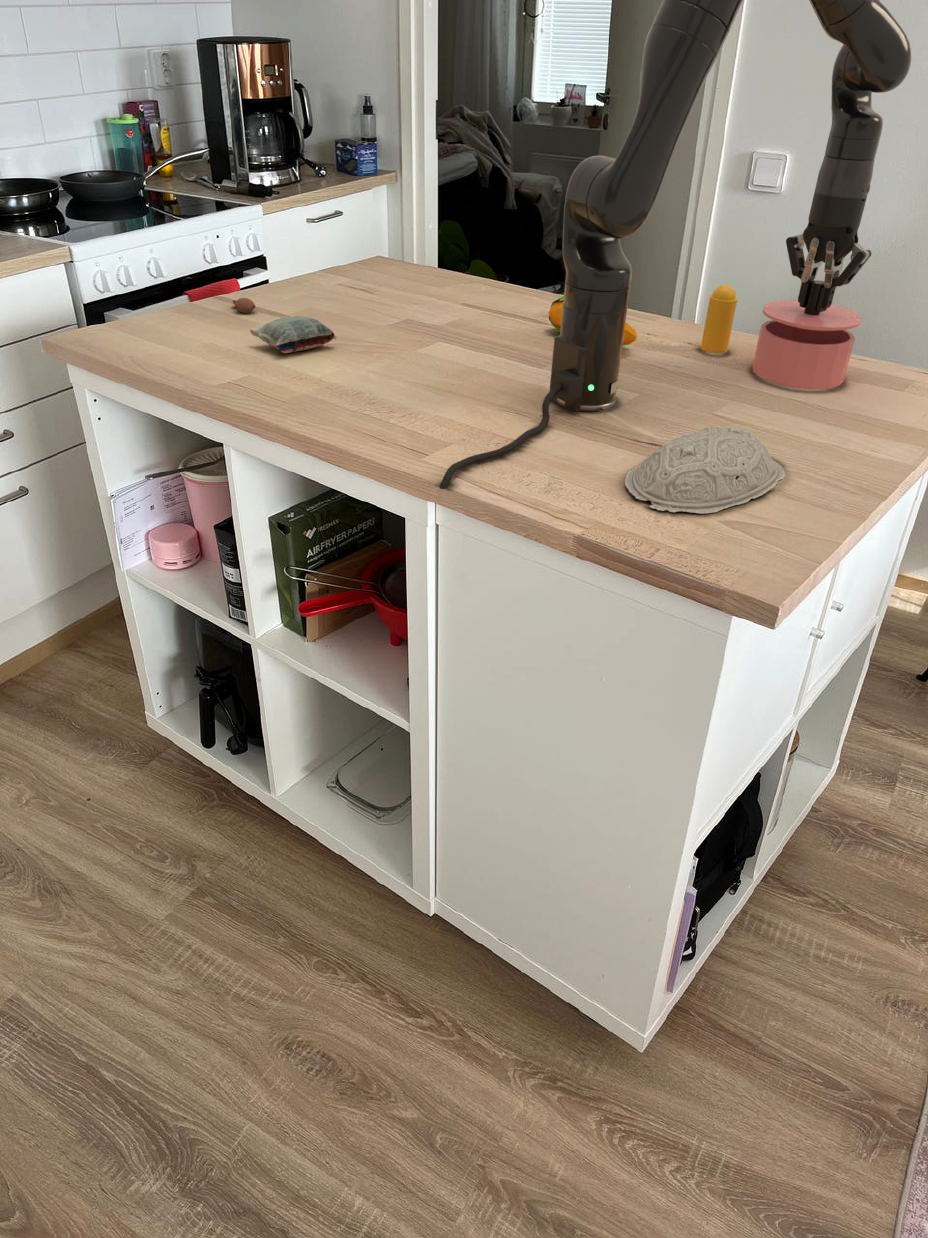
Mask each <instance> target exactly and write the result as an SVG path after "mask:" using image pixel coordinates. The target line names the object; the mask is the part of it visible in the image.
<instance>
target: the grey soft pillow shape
mask: <svg viewBox="0 0 928 1238" xmlns="http://www.w3.org/2000/svg"><path fill="white" fill-rule="evenodd" d="M249 332H250V334H251V335H252V336H254V337H257V338H259V340H260V341H262V342H264V343H266V344H268V345H269V346H271V347H273V348H275V349H276V350H278V351H280V352H281V353H282V354H288V353H290V354H291V353H294V352H295V353H297V352H300V351H305V350H310V349H315V348H318V347H320V346H323V345H326V344H328V343H330V342H331V341H333V339H334V340H337V335H335V332H333V330H332V329H330V328H329V327H328V326H326V325H325V324H323V323H322V322H321V321H319V320H318V319H317V318H316V319H315V318H314V317H311V316H303V315H294V316H288V317H281V318H278V319H275V320H272V321H269V322H266V323H265V324H263V325H261V326H260V327H259V328H258V329H255V330H253V329H250V330H249Z"/></svg>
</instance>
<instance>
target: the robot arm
mask: <svg viewBox="0 0 928 1238" xmlns="http://www.w3.org/2000/svg"><path fill="white" fill-rule="evenodd" d="M808 1H809V3H810V5H811V7H812V9H813V11H814V13H815V16H816V17H817V19H818V21H819V24H820V25H821V27H822V29H823V31H824V32H825V34H826V35H827V37H829V38H830V39H832V40H834V41H836V42H838V43H840V44H842V45H841V47H840V49H839V50H838V53H837V55H836V57H835V60H834V63H833V68H832V75H831V103H830V104H831V107H830V108H831V109H830V111H831V127H830V130H829V135H828V138H827V143H826V147H825V151H824V152H825V153H824V156H823V159H822V163H821V165H820V168H819V171H818V174H817V179H816V183H815V187H814V193H813V196H812V200H811V206H810V210H809V213H808V223H807V226H806V227H805V229H804V230H803V232H802V233H801V234H799V235H793V236H789V237H787V238H786V240H785V244H786V249H787V254H788V261H789V265H790V270H791V275H792V276H793V277H797V278H798V279H800V281H801V283H800V288H799V293H798V297H797V300H798V302H799V303H800V305H799V306H800V307H803V308H805V306H806V302H807V298H808V293H809V289H810V285H811V281H814V280H816V278H817V275H818V273H819V270H820V268H821V266H822V265H823V263H824V269H823V270H824V280H823V281H824V287H822V289H821V293H820V297H819V301H818V305H817V311H819V312H823V311H826V310H827V308H830V306H831V305H833V300H834V297H835V292H836V288H837V287H842V286H845V285H846V286H847V285H848V284H850V283H851V281H852V280H853V279H854V278H855V277H856V275H857V274H858V273H859V271H860V270H861V269H862V268H863V267H864V266H865V264H866V263H867V262H868V260H869V259H870V257H872V251H871V250H870V249H865V248H864V247H863V246H861V244H859V235H858V230H859V228H860V225H861V222H862V218H863V215H864V210H865V207H866V202H867V199H868V195H869V193H870V189H871V182H872V179H873V173H874V165H875V159H876V157H877V153H878V148H879V144H880V141H881V136H882V132H883V127H884V119H883V117H882V116H881V114H879V113H878V112H876V110H874V109H873V106H872V94H873V93H875V94H883V93H888V92H891V91H894V90H895V89H897V88H898V87H899V86H901V84H902V83H903V82H904V81H905V79H906V78H907V76H908V74H909V73H910V68H911V63H912V48H911V44H910V41H909V38H908V36H907V34H906V33H905V31H904V29H903V28H902V26H901V25H900V23H899V22H898V21H897V20H896V18H895V16H893V14H891V12H890V11H889V9H888V8H887V7H886V6H885V5H884V4H883V3H882V2H881V0H808ZM743 2H744V0H662V1H661V3H660V6H659V7H658V11H657V13H656V14H655V17H654V19H653V21H652V24H651V26H650V28H649V30H648V33H647V35H646V39H645V41H644V45H643V49H642V55H641V65H640V79H639V81H640V82H639V93H638V103H637V107H636V111H635V115H634V119H633V121H632V124H631V127H630V129H629V131H628V133H627V135H626V138H625V140H624V142H623V145H622V147H621V149H620V150H619V153H618V154H617V156H616V158H615V157H611V156H607V155H593V156H589V157H587V158H585V159H583V160H581V162H580V163H579V164H578V165H577V166H576V167H575V168H574V170H573V172H572V174H571V176H570V178H569V181H568V183H567V187H566V192H565V200H564V206H563V208H564V209H563V225H562V227H563V228H562V229H563V230H562V251H561V252H562V253H561V254H562V261H563V265H564V268H565V277H564V278H565V279H564V280H565V281H564V291H563V296H564V300H563V310H562V320H561V331H560V332H559V335H556V336H555V337H554V339H553V349H552V358H551V370H550V371H551V373H550V382H549V392H548V393H547V394H546V395H545V396H544V399H543V401H542V404H541V412H542V413H541V414H542V417H541V418H542V419H541V420H540V423H539V424H538V425H537V426H535V427H532V428H529V429H528V430H526V431H525V432H523V433H521V435H520V436H518V437H517V438H516V439H515V440H513V441H512V442H510V443H508V444H507V445H504V446H502V447H500V448H498V449H494V450H491V451H487V452H486V451H485V452H482V453H478V454H474V455H471V456H468V457H465V458H463V459H461V460H459V461H457V462H455V463H452V464H451V465H450V466H449V467H448V468H447V469H446V471H445V473H444V475H443V476H442V480H441V482H440V484H439V490H440V489H441V490H446V489H448V488H449V486H450V484H451V481H452V479H453V477H454V475H455V474H456V472H458V471H460V470H462V469H465V468H467V467H469V466H472V465H474V464H477V463H481V462H485V461H489V460H493V459H496V458H499V457H502V456H505V455H507V454H509V453H511V452H513V451H515V450H516V449H517V448H519V447H520V446H522V444H524V443H525V442H526V441H528V440H529V439H530V438H532V437H534V436H537V435H539V434H541V433H542V432H544V430H545V429H546V428H547V427H548V424H549V421H550V404H551V402H554V403H556V404H559V406H562V407H564V408H565V409H568V410H570V411H572V412H578V411H584V412H585V411H586V412H594V411H595V412H598V411H604V410H605V408H608V407H611V406H613V405H614V404H616V401H617V392H618V391H619V385H620V379H619V376H620V375H619V374H620V368H621V359H622V352H623V346H624V345H623V338H624V330H625V323H627V322H626V321H627V316H628V315H627V314H628V307H629V299H630V292H631V285H632V276H633V267H632V264H631V262H630V261H629V260H628V258H627V256H626V255H625V253H624V250H623V247H622V245H621V239H625V238H628V237H630V236H632V235H634V234H635V233H636V232H637V231H638V230H640V228H641V227H642V226H643V225H644V224H645V223H646V221H647V219H649V216H650V214H651V212H652V210H653V208H654V205H655V203H656V201H657V199H658V196H659V193H660V190H661V189H662V186H663V182H664V180H665V177H666V175H667V172H668V169H669V166H670V163H671V162H672V161H671V160H672V157H673V155H674V152H675V150H676V147H677V145H678V142H679V140H680V138H681V135H682V133H683V131H684V128H685V127H686V124H687V122H688V119H689V117H690V116H691V114H692V111H693V109H694V106H695V104H696V102H697V99H698V97H699V95H700V93H701V92H702V91H701V90H702V88H703V86H704V84H705V82H706V81H707V78H708V76H709V74H710V73H711V71H712V69H713V68H714V64H715V63H716V61H717V59H718V57H719V54H720V52H721V50H722V48H723V46H724V44H725V42H726V40H727V38H728V36H729V34H730V31H731V29H732V27H733V25H734V22H735V20H736V17H737V15H738V12H739V10H740V8H741V6H742V4H743ZM804 247H806V250H807V256H806V258H805V253H804ZM850 253H851V255H850V257H849V258H850V261H849V263H848V264H847V266H846V267H845V268H844V270H842V269H843V267H844V260H845V257H847V256H848V255H849V254H850ZM841 271H842V272H841Z"/></svg>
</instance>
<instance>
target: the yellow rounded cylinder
mask: <svg viewBox="0 0 928 1238" xmlns="http://www.w3.org/2000/svg"><path fill="white" fill-rule="evenodd" d="M737 304H738V298H737V294H736V290H735V289H734V288H733V287H732V286H730V285H727V284H722V285H720V286H717V287H716V288H715V289H714V290H713V291H712V294H711V295H709V299H708V305H707V311H706V316H705V322H704V327H703V334H702V339H701V344H700V349H701V350H702V351H704V352H707V353H710V354H711V353H712V354H724V353H727V352H728V348H729V344H730V339H731V333H732V330H733V323H734V319H735V313H736V309H737Z"/></svg>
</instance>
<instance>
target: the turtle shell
mask: <svg viewBox="0 0 928 1238" xmlns="http://www.w3.org/2000/svg"><path fill="white" fill-rule="evenodd" d="M737 477H738V478H737ZM785 477H786V471H785V469H784V468H783V467H782V465H781V464H780V463H778V462H777V461H775V460H774V459H773V458H772V457H771V455H770V453H769V451H768V449H767V447H766V446H765V445H764V444H763V443H762V441H761V440H760V439H759V438H758V436H757V435H755V434H753V433H751V432H750V431H746V430H744V429H740V428H739V427H738V426H729V427H728V426H718V425H712V426H710V427H704V428H701V429H699V430H697V431H694V432H691V433H688V434H684V433H683V434H680V435H678V436H675V437H674V438H673V439H671V440H670V441H668V442H666V443H665V444H663V445H662V446H660V447H658V448H657V449H656V450H654V451H653V452H652V453H651V454H649V455H648V456H647V457H645V458H644V459H643V460H642V461H641V463H640V464H639V465H638V466H637V467H634V468H631V469H630V471H628V472H627V474H626V476H625V479H624V485H625V487H626V489H627V490H628V493H630V494H631V495H632V496H634V497H635V499H637V500H639V501H645V502H647V501H650V503H651V504H650V505H648V507H649V508H651V509H653V510H654V509H655V510H657V511H661V512H664V511H668V512H669V513H677V512H687V513H695V514H701V515H702V514H703V515H704V514H712V513H717V512H719V511H722V510H724V509H728V508H731V507H735V506H739V505H743V504H746V503H748V502H749V501H750V500H751V499H753V500H755V499H757V498H758V497H761V496H763V495H764V494H766V493H767V492H769V491H770V490H771V489H772V488H773V487H775V486H776V485H778V482H779V481H780V480H783V479H784V478H785Z"/></svg>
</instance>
